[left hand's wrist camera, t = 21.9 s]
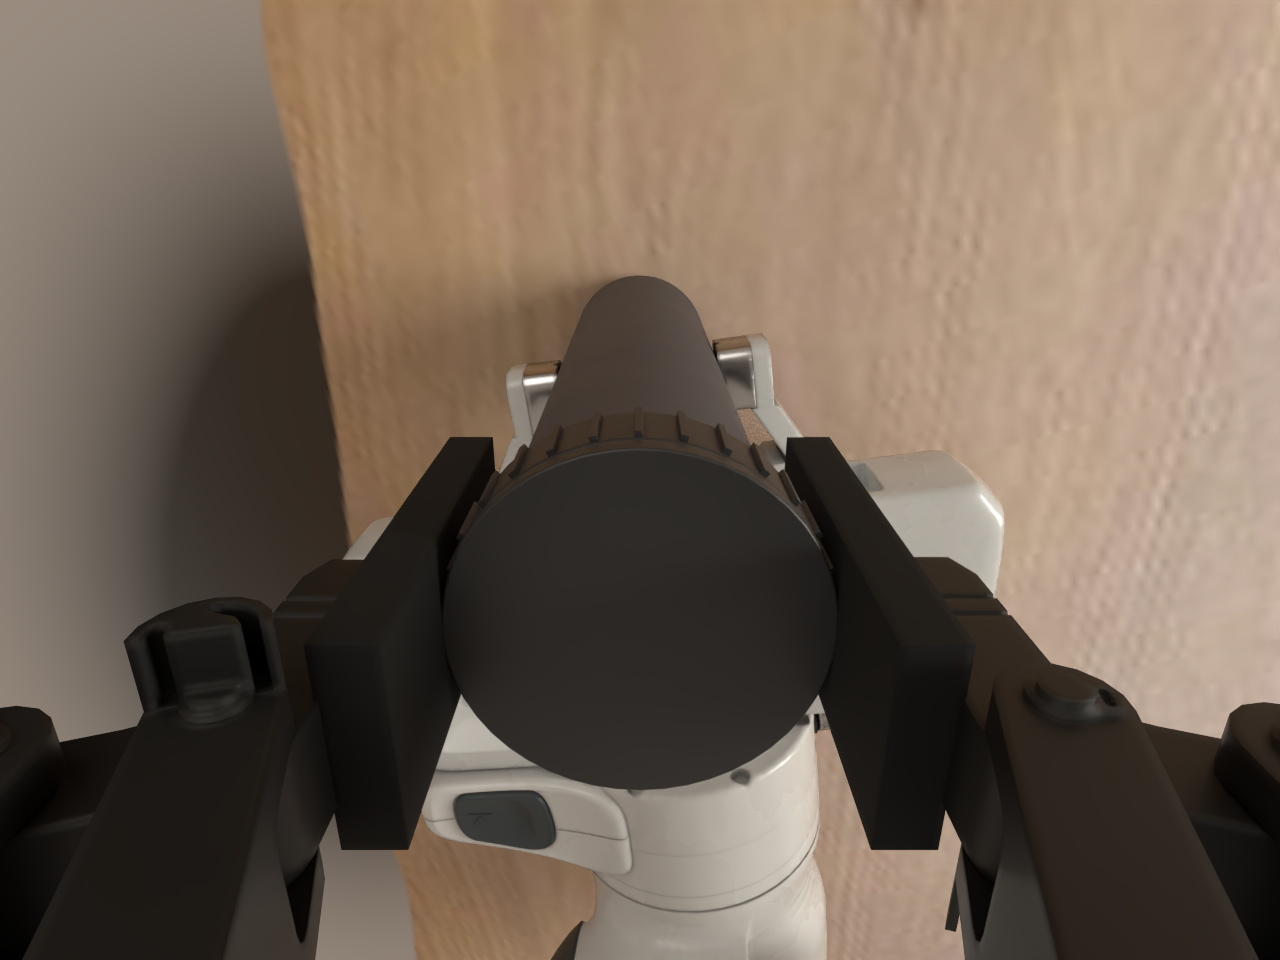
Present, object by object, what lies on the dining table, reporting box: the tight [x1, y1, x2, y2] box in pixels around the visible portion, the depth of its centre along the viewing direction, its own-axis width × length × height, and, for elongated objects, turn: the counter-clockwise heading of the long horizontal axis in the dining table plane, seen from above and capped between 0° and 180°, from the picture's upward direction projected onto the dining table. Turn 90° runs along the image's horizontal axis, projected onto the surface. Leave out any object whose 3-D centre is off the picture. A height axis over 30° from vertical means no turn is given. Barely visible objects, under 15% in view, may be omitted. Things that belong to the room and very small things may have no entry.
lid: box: [441, 407, 838, 790], centre depth 11 cm, size 5×5×2 cm
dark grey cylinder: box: [529, 276, 751, 447], centre depth 20 cm, size 5×5×19 cm
